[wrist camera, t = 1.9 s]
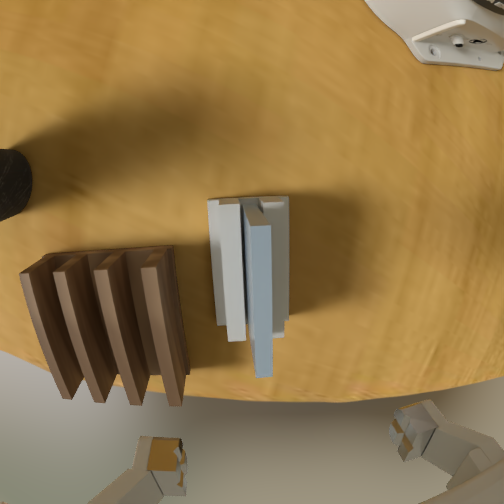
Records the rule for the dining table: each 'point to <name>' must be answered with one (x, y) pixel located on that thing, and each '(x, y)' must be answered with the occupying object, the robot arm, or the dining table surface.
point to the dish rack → (109, 320)
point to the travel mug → (13, 183)
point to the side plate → (258, 287)
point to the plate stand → (232, 261)
